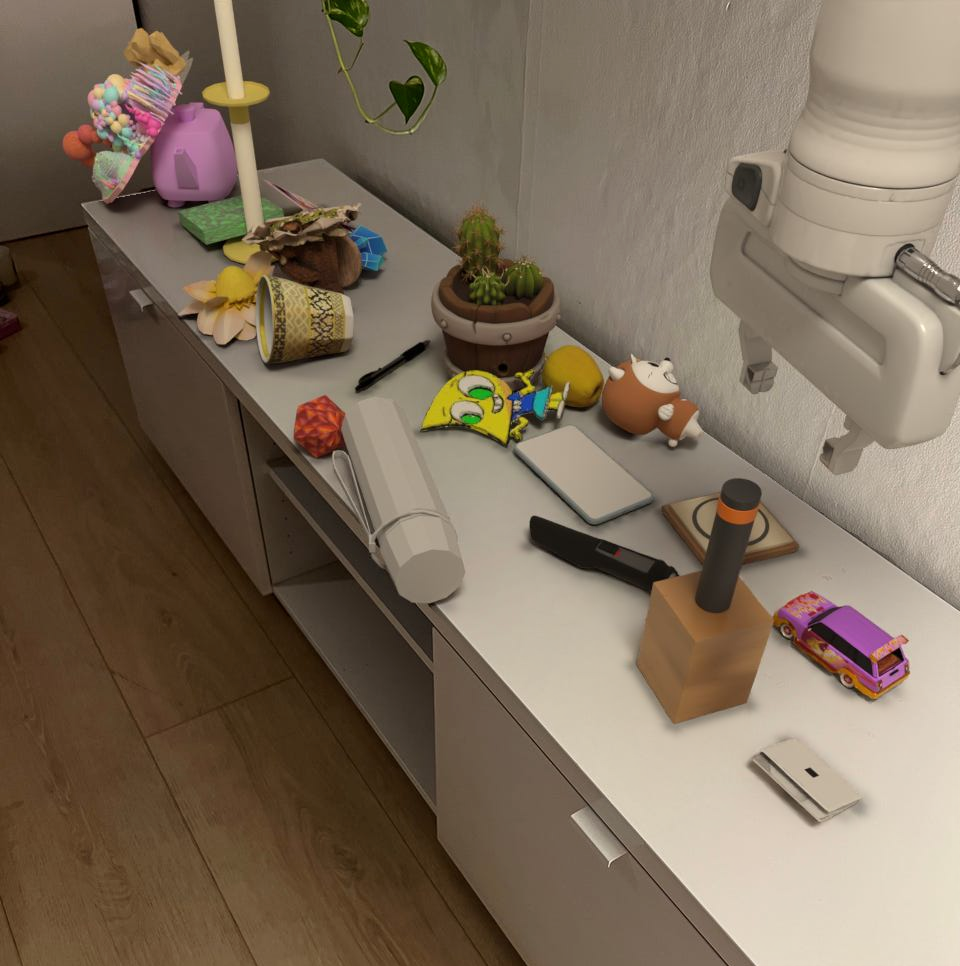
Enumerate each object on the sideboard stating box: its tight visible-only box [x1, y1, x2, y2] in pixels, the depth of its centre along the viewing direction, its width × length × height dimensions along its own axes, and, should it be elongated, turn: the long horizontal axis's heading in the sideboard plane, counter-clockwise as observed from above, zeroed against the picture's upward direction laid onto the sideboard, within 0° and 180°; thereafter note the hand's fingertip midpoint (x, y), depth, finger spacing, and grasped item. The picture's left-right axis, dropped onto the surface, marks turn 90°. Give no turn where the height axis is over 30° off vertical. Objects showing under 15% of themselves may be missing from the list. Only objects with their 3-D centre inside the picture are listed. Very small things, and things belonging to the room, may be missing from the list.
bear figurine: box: [241, 201, 362, 296], centre depth 128 cm, size 14×15×12 cm
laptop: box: [751, 737, 863, 823], centre depth 78 cm, size 7×6×2 cm
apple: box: [541, 344, 605, 408], centre depth 114 cm, size 6×6×8 cm
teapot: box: [150, 101, 238, 208], centre depth 148 cm, size 20×12×13 cm, turn 3°
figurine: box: [601, 353, 704, 448], centre depth 109 cm, size 9×9×12 cm
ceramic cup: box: [256, 275, 355, 365], centre depth 120 cm, size 13×10×10 cm
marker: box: [695, 477, 763, 613], centre depth 74 cm, size 3×3×11 cm
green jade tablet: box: [177, 194, 285, 245], centre depth 143 cm, size 11×12×2 cm
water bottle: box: [331, 396, 466, 604], centre depth 97 cm, size 9×8×25 cm
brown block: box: [636, 570, 774, 725], centre depth 82 cm, size 7×7×10 cm
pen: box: [354, 339, 431, 392], centre depth 120 cm, size 14×2×1 cm, turn 144°
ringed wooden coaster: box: [661, 491, 800, 566], centre depth 100 cm, size 10×10×1 cm
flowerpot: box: [430, 197, 562, 397], centre depth 112 cm, size 14×15×20 cm
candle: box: [201, 0, 279, 265], centre depth 127 cm, size 10×10×38 cm
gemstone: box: [335, 224, 389, 288], centre depth 135 cm, size 7×9×12 cm
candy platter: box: [61, 27, 194, 205], centre depth 143 cm, size 25×24×9 cm
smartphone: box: [513, 424, 655, 526], centre depth 105 cm, size 8×1×15 cm
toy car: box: [772, 590, 911, 700], centre depth 87 cm, size 6×12×5 cm, turn 35°
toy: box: [419, 370, 571, 449], centre depth 110 cm, size 10×1×15 cm
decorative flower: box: [177, 251, 287, 345], centre depth 127 cm, size 15×11×10 cm
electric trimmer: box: [529, 515, 680, 593], centre depth 95 cm, size 4×16×3 cm, turn 58°
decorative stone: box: [293, 394, 346, 459], centre depth 106 cm, size 6×7×8 cm
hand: (793, 425), depth 64 cm, fingers open, 8 cm apart
